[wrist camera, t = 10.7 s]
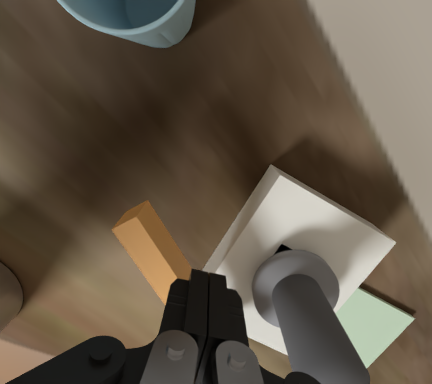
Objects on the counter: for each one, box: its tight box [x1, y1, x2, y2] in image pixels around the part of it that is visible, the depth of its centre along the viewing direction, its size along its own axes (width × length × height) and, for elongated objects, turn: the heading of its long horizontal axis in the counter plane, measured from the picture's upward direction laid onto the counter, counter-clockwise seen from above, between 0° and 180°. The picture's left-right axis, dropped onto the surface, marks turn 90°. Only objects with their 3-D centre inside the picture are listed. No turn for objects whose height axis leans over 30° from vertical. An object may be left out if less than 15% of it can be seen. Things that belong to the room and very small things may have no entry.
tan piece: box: [111, 200, 192, 305], centre depth 20 cm, size 14×3×4 cm, turn 28°
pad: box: [335, 287, 414, 369], centre depth 32 cm, size 9×9×1 cm
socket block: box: [202, 165, 396, 355], centre depth 26 cm, size 15×12×6 cm
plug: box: [252, 244, 370, 384], centre depth 22 cm, size 7×7×14 cm
